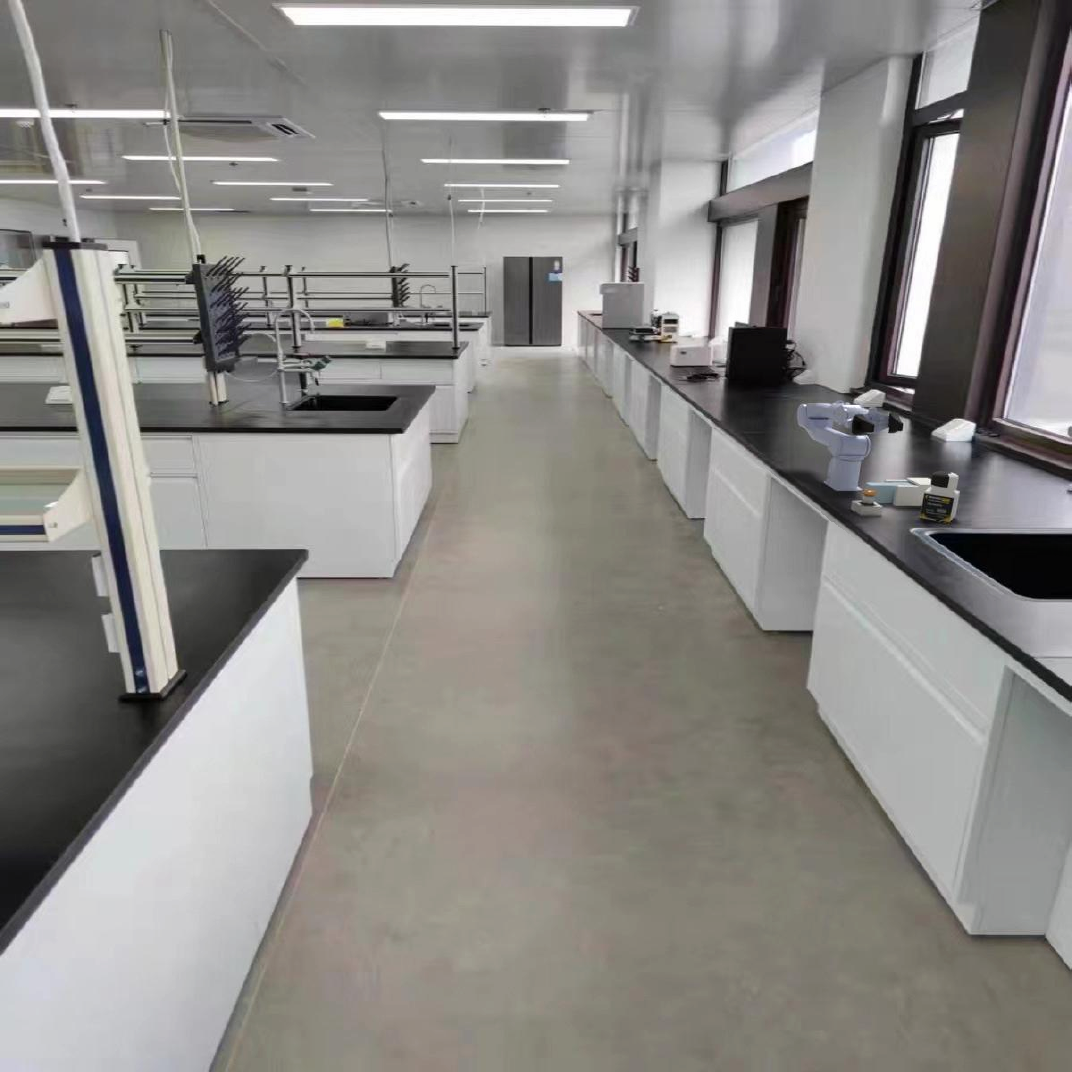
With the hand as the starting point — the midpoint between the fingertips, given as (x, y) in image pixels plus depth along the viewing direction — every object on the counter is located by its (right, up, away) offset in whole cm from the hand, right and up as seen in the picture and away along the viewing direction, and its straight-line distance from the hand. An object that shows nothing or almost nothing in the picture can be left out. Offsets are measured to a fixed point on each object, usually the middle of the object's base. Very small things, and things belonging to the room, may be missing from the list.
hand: (887, 427), depth 199 cm
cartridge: (+7, -19, +11) cm, 23 cm away
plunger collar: (-5, -22, +1) cm, 23 cm away
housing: (+11, -19, +12) cm, 25 cm away
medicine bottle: (+12, -24, -1) cm, 27 cm away
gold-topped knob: (-5, -20, +1) cm, 21 cm away
